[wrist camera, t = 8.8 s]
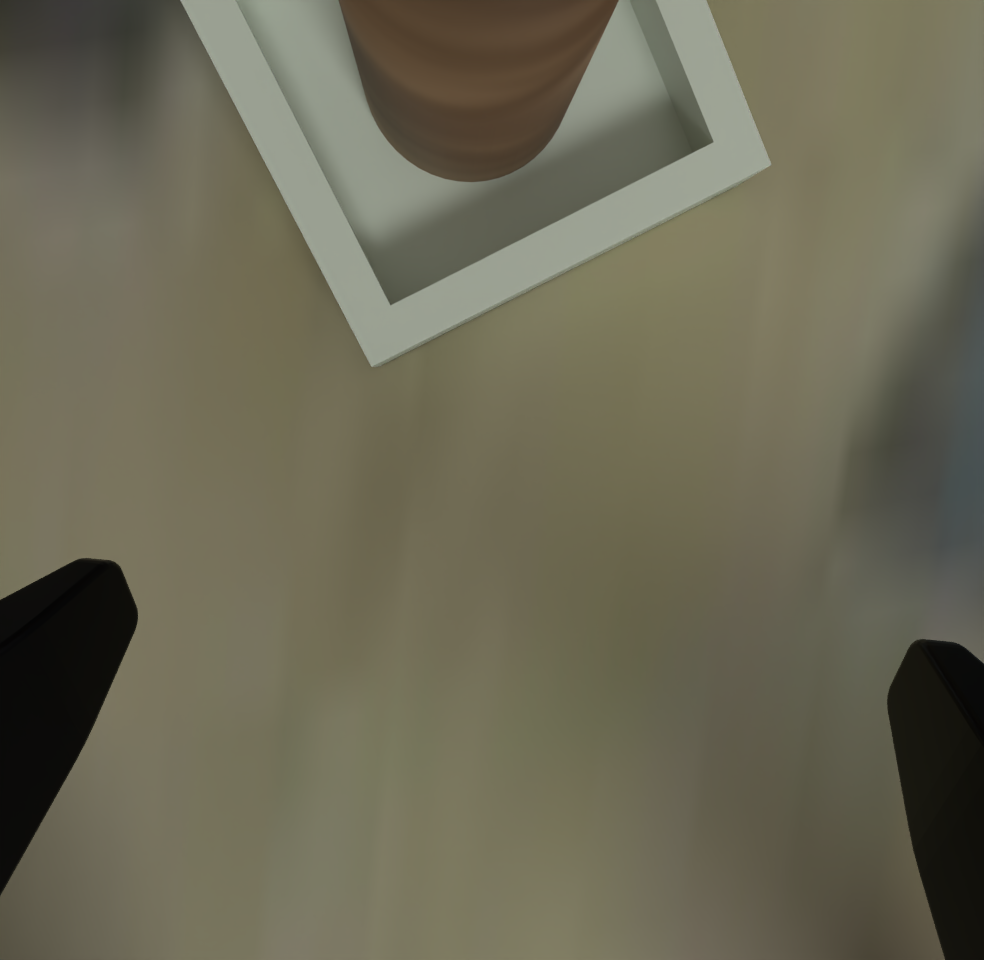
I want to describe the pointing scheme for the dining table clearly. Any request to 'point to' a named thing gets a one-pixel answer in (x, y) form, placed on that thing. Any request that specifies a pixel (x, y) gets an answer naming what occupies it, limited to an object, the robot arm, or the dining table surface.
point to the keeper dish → (486, 204)
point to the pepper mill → (472, 76)
